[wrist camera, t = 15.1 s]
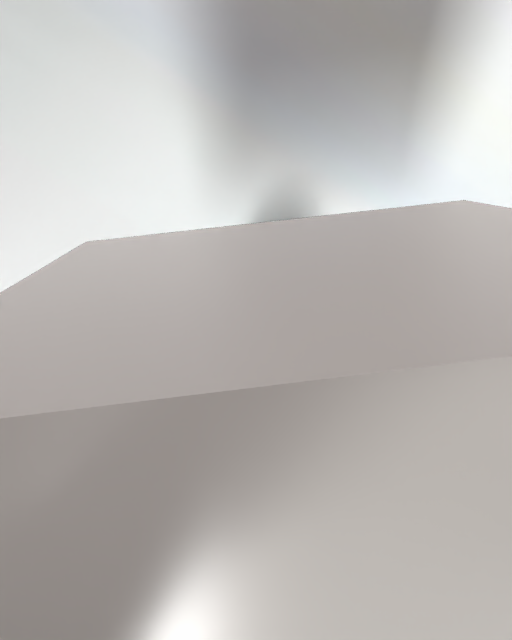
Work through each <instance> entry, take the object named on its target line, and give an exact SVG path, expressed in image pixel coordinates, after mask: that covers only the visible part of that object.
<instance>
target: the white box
mask: <svg viewBox="0 0 512 640" xmlns="http://www.w3.org/2000/svg"><path fill="white" fill-rule="evenodd" d="M0 640H512V208H507V207H501V206H495V205H490V204H484V203H478V202H472V201H466V200H460V201H451V202H442V203H433V204H424V205H415V206H406V207H397V208H388V209H379V210H370V211H360V212H351V213H342V214H333V215H324V216H315V217H306V218H297V219H288V220H279V221H269V222H260V223H251V224H242V225H233V226H224V227H215V228H206V229H197V230H188V231H179V232H169V233H160V234H151V235H142V236H133V237H124V238H115V239H106V240H97V241H88V242H85V243H83V244H81V245H79V246H78V247H76V248H74V249H73V250H71V251H69V252H68V253H66V254H64V255H63V256H61V257H59V258H58V259H56V260H54V261H53V262H51V263H49V264H48V265H46V266H44V267H43V268H41V269H39V270H38V271H36V272H34V273H33V274H31V275H29V276H28V277H26V278H24V279H23V280H21V281H19V282H18V283H16V284H14V285H12V286H11V287H9V288H7V289H6V290H4V291H2V292H1V293H0Z"/></svg>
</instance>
